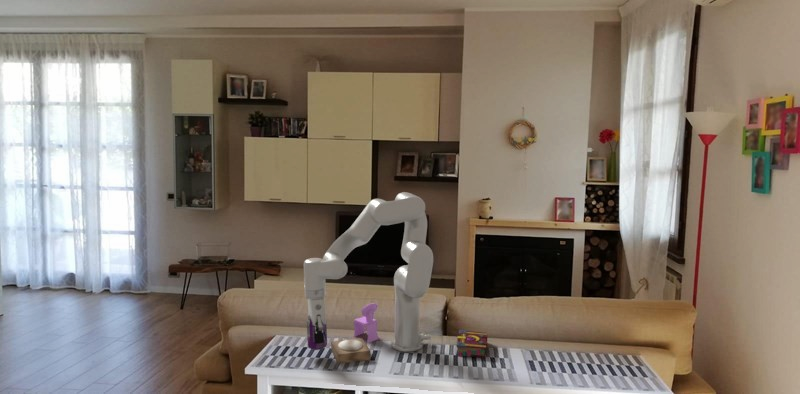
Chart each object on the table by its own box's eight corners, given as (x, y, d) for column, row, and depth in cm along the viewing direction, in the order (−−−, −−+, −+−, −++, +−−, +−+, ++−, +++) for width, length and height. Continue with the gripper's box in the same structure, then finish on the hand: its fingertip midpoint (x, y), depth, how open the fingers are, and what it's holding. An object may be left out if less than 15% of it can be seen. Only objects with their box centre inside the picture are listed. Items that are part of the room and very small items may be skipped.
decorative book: (487, 343, 215) (487, 331, 214) (486, 360, 199) (486, 347, 198) (458, 340, 217) (458, 328, 216) (455, 357, 201) (455, 344, 200)
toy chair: (366, 331, 223) (366, 296, 221) (381, 337, 217) (381, 302, 215) (351, 337, 218) (351, 301, 215) (365, 343, 212) (366, 306, 209)
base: (361, 346, 209) (361, 336, 208) (370, 359, 197) (370, 349, 197) (331, 350, 205) (331, 340, 204) (338, 363, 194) (338, 353, 193)
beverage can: (323, 352, 194) (322, 320, 193) (304, 350, 196) (303, 319, 194) (329, 343, 201) (328, 313, 199) (311, 342, 203) (310, 312, 201)
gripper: (330, 298, 188) (332, 346, 191) (320, 284, 205) (322, 328, 207) (309, 301, 186) (311, 350, 189) (301, 286, 202) (303, 331, 205)
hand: (317, 338), depth 198 cm, fingers closed on beverage can, 7 cm apart
